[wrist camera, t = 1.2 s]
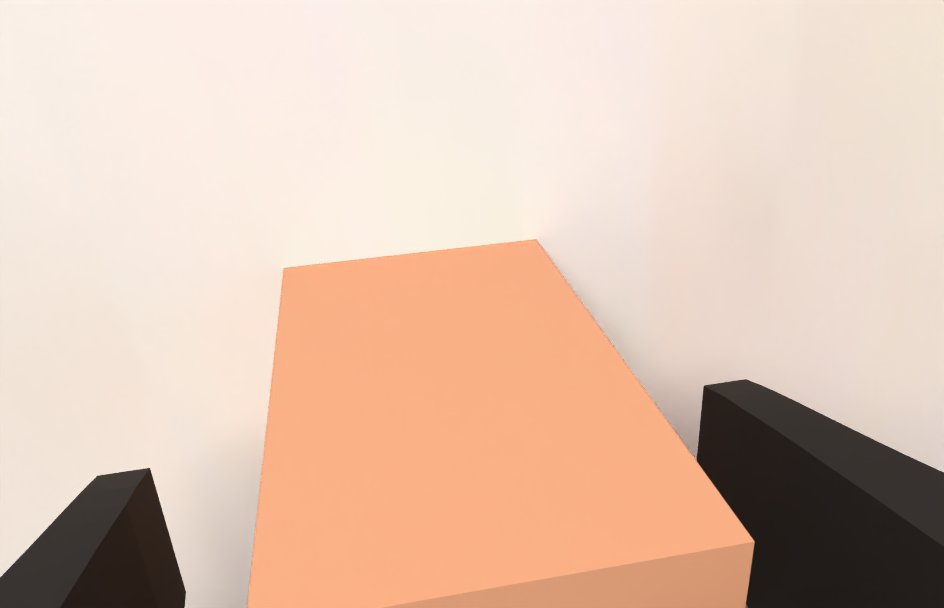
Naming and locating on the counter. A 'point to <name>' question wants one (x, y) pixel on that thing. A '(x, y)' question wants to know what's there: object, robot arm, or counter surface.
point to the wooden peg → (474, 450)
